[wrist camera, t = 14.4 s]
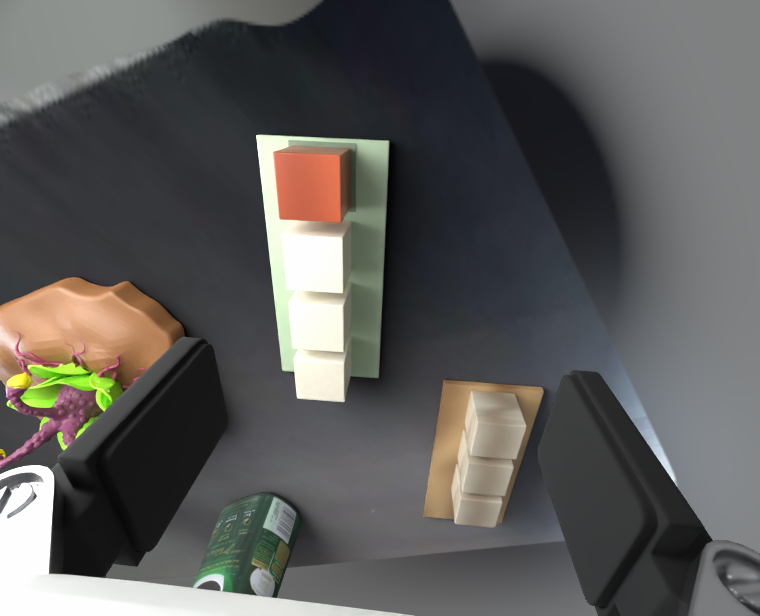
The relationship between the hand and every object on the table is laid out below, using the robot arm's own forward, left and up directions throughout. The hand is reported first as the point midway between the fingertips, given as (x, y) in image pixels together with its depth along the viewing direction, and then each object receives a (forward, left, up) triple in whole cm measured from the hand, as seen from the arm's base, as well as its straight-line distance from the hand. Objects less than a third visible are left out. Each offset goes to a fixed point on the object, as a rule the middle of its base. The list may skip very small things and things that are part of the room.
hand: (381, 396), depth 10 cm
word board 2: (-9, +25, -20) cm, 33 cm away
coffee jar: (+15, +38, -20) cm, 45 cm away
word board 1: (+6, +5, -20) cm, 21 cm away
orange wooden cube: (+6, -2, -19) cm, 20 cm away
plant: (+28, +17, -20) cm, 38 cm away
